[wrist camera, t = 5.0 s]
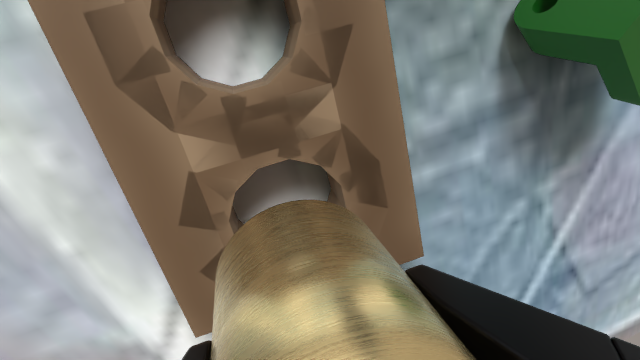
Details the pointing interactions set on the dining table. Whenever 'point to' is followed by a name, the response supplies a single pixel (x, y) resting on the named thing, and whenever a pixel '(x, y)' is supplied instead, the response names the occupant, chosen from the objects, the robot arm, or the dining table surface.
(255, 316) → the brass sleeve
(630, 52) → the clamp
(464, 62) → the dining table surface
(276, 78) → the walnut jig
